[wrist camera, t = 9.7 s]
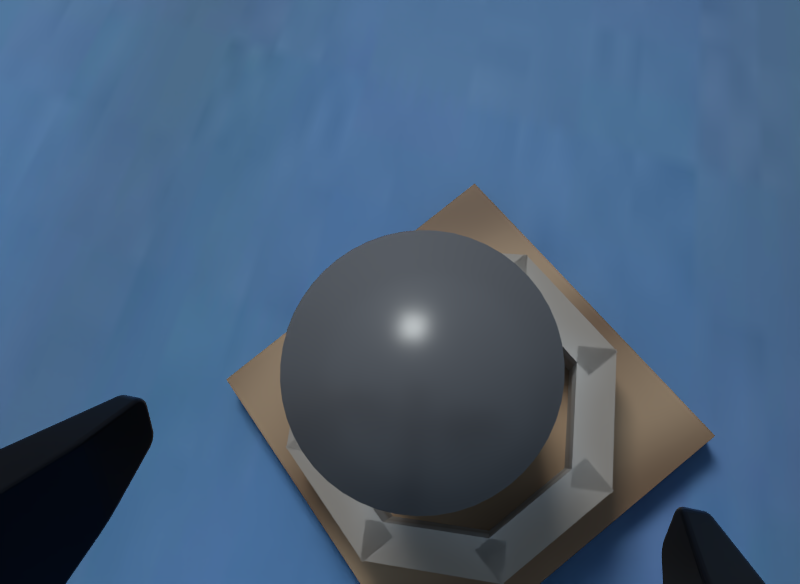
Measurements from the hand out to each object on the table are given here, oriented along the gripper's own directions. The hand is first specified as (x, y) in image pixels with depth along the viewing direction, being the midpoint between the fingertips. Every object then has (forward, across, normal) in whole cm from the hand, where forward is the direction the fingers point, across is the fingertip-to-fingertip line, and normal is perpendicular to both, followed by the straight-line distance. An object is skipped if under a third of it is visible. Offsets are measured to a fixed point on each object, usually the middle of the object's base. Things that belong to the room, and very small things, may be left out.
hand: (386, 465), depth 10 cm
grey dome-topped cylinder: (+9, 0, +7) cm, 11 cm away
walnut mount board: (+10, 0, +7) cm, 13 cm away
